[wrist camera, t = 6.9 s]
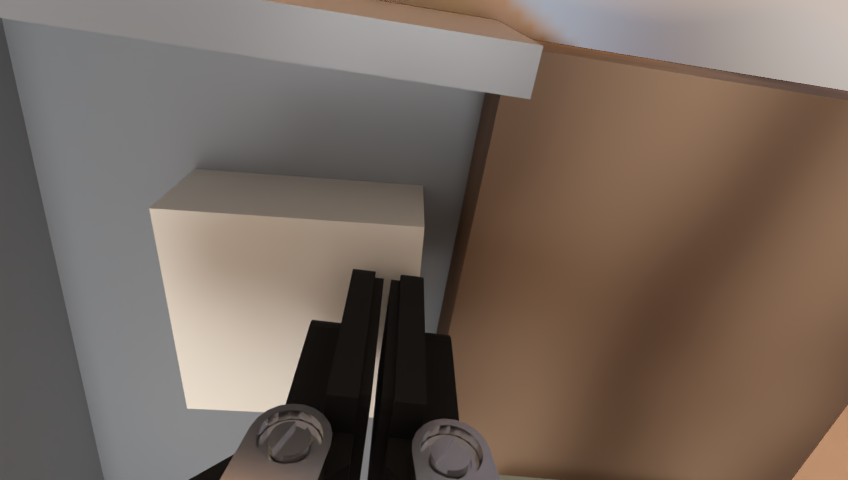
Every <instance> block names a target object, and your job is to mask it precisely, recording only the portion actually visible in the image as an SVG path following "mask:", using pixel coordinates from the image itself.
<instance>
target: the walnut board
mask: <svg viewBox="0 0 848 480" xmlns="http://www.w3.org/2000/svg"><path fill="white" fill-rule="evenodd" d="M534 41H536V42H537V43H539V44H541V45H543V50H542V54H541V58H540V62H539V66H538V70H537V74H536V78H535V82H534V86H533V90H532V94H531V98H530V99H525V98H519V97H512V96H506V95H499V94H492V93H486V92H485V96H484V101H483V106H482V110H481V115H480V120H479V125H478V130H477V135H476V140H475V145H474V150H473V155H472V160H471V165H470V169H469V174H468V179H467V184H466V189H465V194H464V199H463V204H462V209H461V214H460V219H459V223H458V228H457V233H456V238H455V243H454V248H453V253H452V258H451V263H450V268H449V273H448V277H447V282H446V287H445V292H444V297H443V302H442V307H441V312H440V317H439V322H438V327H437V331H436V334H443V335H450V337H451V341H452V351H453V361H454V372H455V382H456V393H457V403H458V413H459V421H460V422H463V423H466V424H468V425H469V426H471V427H472V428H474V429H476V430H477V431H478V432H479V433H480V434H481V435H482V436H483V437H484V439H485V440H486V442H487V444H488V446H489V448H490V450H491V453H492V456H493V460H494V463H495V466H496V469H497V472H498V474H499V475H510V476H521V477H532V478H543V479H554V480H792V478H793V477H794V476H795V474H796V473H797V472H798V470H799V469H800V468H801V466H802V465H803V464H804V462H805V461H806V460H807V458H808V457H809V456H810V454H811V453H812V452H813V450H814V449H815V448H816V446H817V445H818V444H819V442H820V441H821V440H822V438H823V437H824V436H825V434H826V433H827V432H828V430H829V429H830V428H831V426H832V425H833V424H834V422H835V421H836V419H837V418H838V417H839V415H840V414H841V413H842V411H843V410H844V409H845V407H846V406H847V405H848V91H844V90H838V89H832V88H826V87H820V86H813V85H807V84H801V83H795V82H789V81H783V80H776V79H770V78H765V77H758V76H752V75H746V74H740V73H734V72H727V71H722V70H716V69H709V68H703V67H696V66H691V65H685V64H678V63H673V62H666V61H660V60H654V59H648V58H642V57H636V56H630V55H624V54H618V53H612V52H606V51H599V50H593V49H587V48H581V47H575V46H569V45H563V44H557V43H550V42H544V41H538V40H534Z"/></svg>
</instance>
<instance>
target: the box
mask: <svg viewBox="0 0 848 480" xmlns="http://www.w3.org/2000/svg"><path fill="white" fill-rule="evenodd" d="M542 50H543V45H541V44H539V43H537V42H536V41H534V40H532V39H530V38H528V37H527V36H525V35H523V34H521V33H519V32H517V31H516V30H514V29H512V28H510V27H508V26H507V25H505V24H503V23H501V22H499V21H498V20H494V19H488V18H482V17H476V16H470V15H464V14H458V13H452V12H446V11H440V10H434V9H428V8H422V7H416V6H410V5H404V4H398V3H392V2H386V1H380V0H0V480H189V479H191V478H192V477H194V476H196V475H198V474H200V473H201V472H203V471H205V470H207V469H208V468H210V467H212V466H214V465H216V464H217V463H219V462H221V461H223V460H224V459H226V458H228V457H230V456H232V455H233V454H235V452H236V450H237V449H238V447H239V445H240V443H241V442H242V440H243V438H244V436H245V434H246V433H247V431H248V429H249V427H250V426H251V425H252V423H253V422H254V421H255V420H256V418H257V417H259V416H260V415H261V414H263V413H264V412H248V411H228V410H207V409H187V405H186V400H185V395H184V389H183V384H182V379H181V373H180V368H179V363H178V358H177V352H176V347H175V342H174V337H173V331H172V326H171V321H170V316H169V310H168V305H167V300H166V295H165V289H164V284H163V279H162V273H161V268H160V263H159V258H158V252H157V247H156V242H155V237H154V231H153V226H152V221H151V216H150V210H149V208H150V207H151V206H152V205H153V204H155V203H156V202H157V201H158V200H159V199H160V198H162V197H163V196H164V195H165V194H166V193H167V192H168V191H170V190H171V189H172V188H173V187H174V186H175V185H176V184H178V183H179V182H180V181H181V180H182V179H183V178H185V177H186V176H187V175H188V174H189V173H190V172H191V171H193V170H194V169H202V170H216V171H230V172H244V173H257V174H271V175H285V176H298V177H312V178H326V179H340V180H353V181H367V182H381V183H395V184H408V185H422V186H423V196H424V238H423V248H422V259H421V270H420V277H423V278H424V310H425V333H434V334H436V331H437V327H438V322H439V317H440V312H441V307H442V302H443V297H444V292H445V287H446V282H447V277H448V273H449V268H450V263H451V258H452V253H453V248H454V243H455V238H456V233H457V228H458V223H459V219H460V214H461V209H462V204H463V199H464V194H465V189H466V184H467V179H468V174H469V169H470V165H471V160H472V155H473V150H474V145H475V140H476V135H477V130H478V125H479V120H480V115H481V110H482V106H483V101H484V96H485V92H486V93H492V94H499V95H506V96H512V97H519V98H525V99H530V98H531V94H532V90H533V86H534V82H535V78H536V74H537V70H538V66H539V62H540V58H541V54H542ZM372 426H373V418H370V417H369V419H368V426H367V433H366V440H365V447H364V454H363V461H362V468H361V475H360V480H367V478H368V467H369V457H370V447H371V436H372Z"/></svg>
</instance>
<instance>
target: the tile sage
mask: <svg viewBox="0 0 848 480" xmlns="http://www.w3.org/2000/svg"><path fill="white" fill-rule="evenodd" d="M498 475H499V474H498ZM499 478H500V480H554V479H543V478H532V477H521V476H510V475H499Z"/></svg>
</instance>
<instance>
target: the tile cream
mask: <svg viewBox="0 0 848 480" xmlns="http://www.w3.org/2000/svg"><path fill="white" fill-rule="evenodd" d="M149 210H150V216H151V221H152V226H153V231H154V237H155V242H156V247H157V252H158V258H159V263H160V268H161V273H162V279H163V284H164V289H165V295H166V300H167V305H168V310H169V316H170V321H171V326H172V331H173V337H174V342H175V347H176V352H177V358H178V363H179V368H180V373H181V379H182V384H183V389H184V395H185V400H186V405H187V409H207V410H228V411H248V412H266V411H267V410H269V409H272V408H274V407H277V406H279V405H285V404H286V401H287V398H288V394H289V391H290V388H291V385H292V381H293V378H294V375H295V371H296V368H297V365H298V362H299V358H300V355H301V352H302V348H303V345H304V342H305V339H306V335H307V332H308V329H309V326H310V323H311V321H312V320H319V321H328V322H337V323H341V322H342V317H343V313H344V308H345V303H346V299H347V294H348V289H349V285H350V280H351V275H352V271H353V269H360V270H368V271H376V274H375V278H383V279H384V284H383V293H382V303H381V312H380V321H379V331H378V340H377V350H376V359H375V368H374V378H373V387H372V396H371V404H370V411H369V417H370V418H373V416H374V405H375V395H376V385H377V375H378V367H379V360H380V353H381V346H382V339H383V333H384V326H385V319H386V312H387V305H388V298H389V291H390V284H391V280H400V276H401V275H409V276H417V277H420V270H421V259H422V248H423V238H424V196H423V186H422V185H408V184H395V183H381V182H367V181H353V180H340V179H326V178H312V177H298V176H285V175H271V174H257V173H244V172H230V171H216V170H202V169H194V170H193V171H191V172H190V173H189V174H188V175H187V176H186V177H185V178H183V179H182V180H181V181H180V182H179V183H178V184H176V185H175V186H174V187H173V188H172V189H171V190H170V191H168V192H167V193H166V194H165V195H164V196H163V197H162V198H160V199H159V200H158V201H157V202H156V203H155V204H153V205H152V206H151V207H150V208H149Z"/></svg>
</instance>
